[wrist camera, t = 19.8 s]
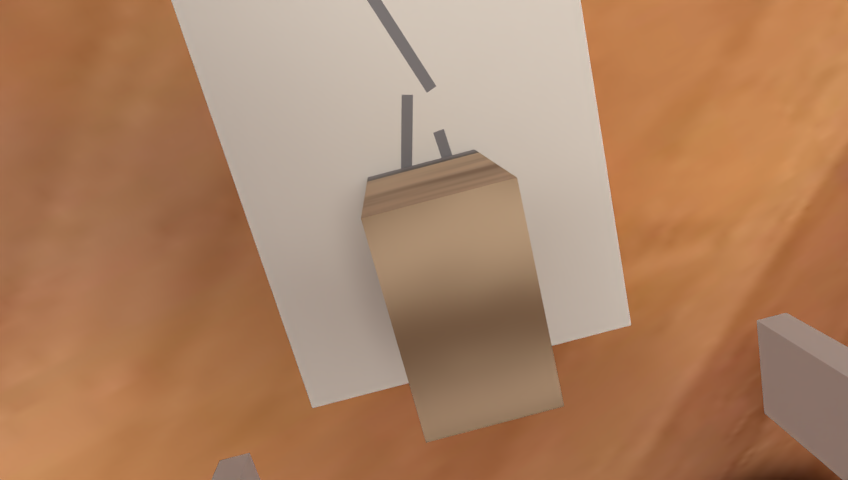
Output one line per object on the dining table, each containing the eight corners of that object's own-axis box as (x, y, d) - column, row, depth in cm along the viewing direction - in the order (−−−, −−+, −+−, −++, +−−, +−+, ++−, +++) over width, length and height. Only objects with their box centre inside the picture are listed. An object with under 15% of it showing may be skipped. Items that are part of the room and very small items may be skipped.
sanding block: (367, 177, 30) (360, 218, 21) (474, 149, 30) (517, 177, 21) (413, 339, 33) (426, 442, 23) (511, 313, 33) (564, 406, 23)
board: (138, -130, 27) (120, -147, 26) (529, -230, 28) (540, -254, 26) (316, 391, 36) (312, 408, 34) (617, 312, 36) (631, 325, 34)
